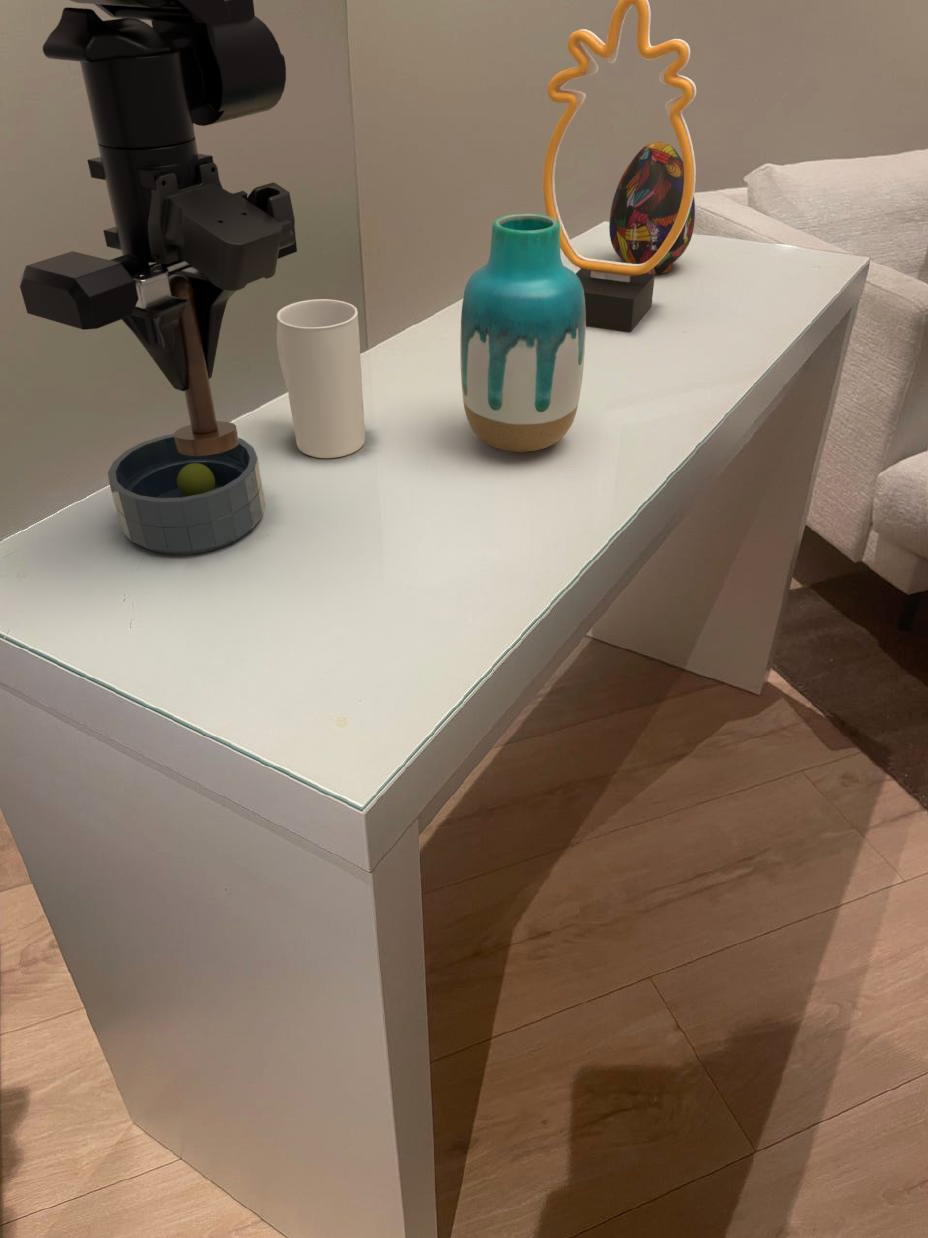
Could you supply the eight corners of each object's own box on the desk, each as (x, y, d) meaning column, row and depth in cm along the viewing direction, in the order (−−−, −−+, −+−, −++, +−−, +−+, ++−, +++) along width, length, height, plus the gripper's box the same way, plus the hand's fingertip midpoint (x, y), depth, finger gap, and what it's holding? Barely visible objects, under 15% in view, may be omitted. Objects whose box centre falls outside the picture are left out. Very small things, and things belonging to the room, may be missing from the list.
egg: (705, 269, 124) (723, 143, 115) (647, 286, 119) (661, 156, 110) (646, 249, 131) (659, 129, 121) (589, 265, 126) (597, 140, 116)
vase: (460, 416, 91) (457, 204, 79) (571, 414, 91) (585, 202, 79) (462, 471, 82) (460, 243, 71) (584, 469, 82) (602, 240, 71)
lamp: (525, 316, 111) (534, -7, 92) (550, 292, 118) (564, -15, 98) (665, 337, 106) (707, -2, 86) (684, 310, 112) (727, -10, 93)
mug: (383, 443, 87) (374, 313, 79) (323, 468, 83) (307, 334, 76) (318, 408, 92) (304, 284, 85) (259, 430, 89) (239, 302, 82)
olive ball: (177, 502, 78) (163, 473, 76) (202, 482, 80) (189, 452, 78) (202, 511, 77) (189, 481, 75) (227, 489, 78) (215, 460, 76)
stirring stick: (165, 448, 69) (128, 277, 63) (216, 433, 71) (186, 267, 66) (198, 460, 66) (164, 282, 60) (251, 443, 69) (222, 271, 63)
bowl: (93, 530, 75) (76, 475, 72) (197, 472, 83) (186, 419, 80) (193, 574, 70) (180, 517, 67) (294, 508, 78) (286, 453, 75)
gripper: (115, 189, 48) (174, 467, 57) (348, 127, 60) (365, 363, 69) (-22, 163, 52) (54, 423, 62) (220, 110, 65) (252, 333, 74)
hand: (192, 383), depth 67 cm, fingers closed on stirring stick, 2 cm apart
